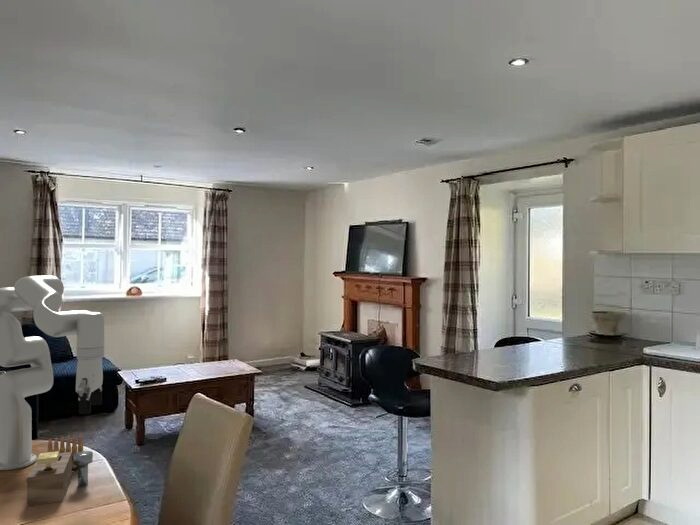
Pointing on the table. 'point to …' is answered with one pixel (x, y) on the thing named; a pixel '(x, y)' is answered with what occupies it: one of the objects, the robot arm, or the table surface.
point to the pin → (82, 466)
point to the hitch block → (49, 481)
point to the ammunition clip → (67, 447)
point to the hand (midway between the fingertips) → (90, 409)
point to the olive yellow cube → (48, 459)
